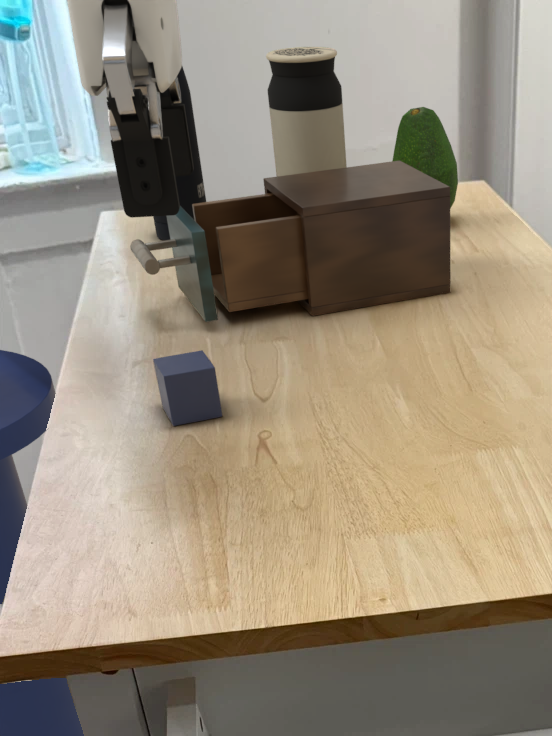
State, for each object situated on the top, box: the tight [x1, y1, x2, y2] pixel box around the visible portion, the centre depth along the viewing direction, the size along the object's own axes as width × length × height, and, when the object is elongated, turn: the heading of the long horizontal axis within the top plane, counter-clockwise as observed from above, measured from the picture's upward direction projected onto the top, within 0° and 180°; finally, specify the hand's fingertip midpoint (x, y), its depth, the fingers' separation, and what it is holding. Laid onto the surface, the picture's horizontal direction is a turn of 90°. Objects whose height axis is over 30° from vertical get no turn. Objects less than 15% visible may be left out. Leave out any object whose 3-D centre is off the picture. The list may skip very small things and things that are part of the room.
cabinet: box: [262, 160, 451, 317], centre depth 101 cm, size 15×13×10 cm
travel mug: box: [265, 46, 348, 177], centre depth 113 cm, size 8×8×18 cm
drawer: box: [129, 193, 308, 323], centre depth 97 cm, size 18×11×8 cm, turn 112°
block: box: [152, 349, 223, 427], centre depth 80 cm, size 4×4×4 cm
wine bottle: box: [133, 22, 207, 241], centre depth 111 cm, size 6×6×30 cm
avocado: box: [392, 106, 459, 210], centre depth 117 cm, size 8×8×12 cm
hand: (162, 194), depth 63 cm, fingers open, 9 cm apart
